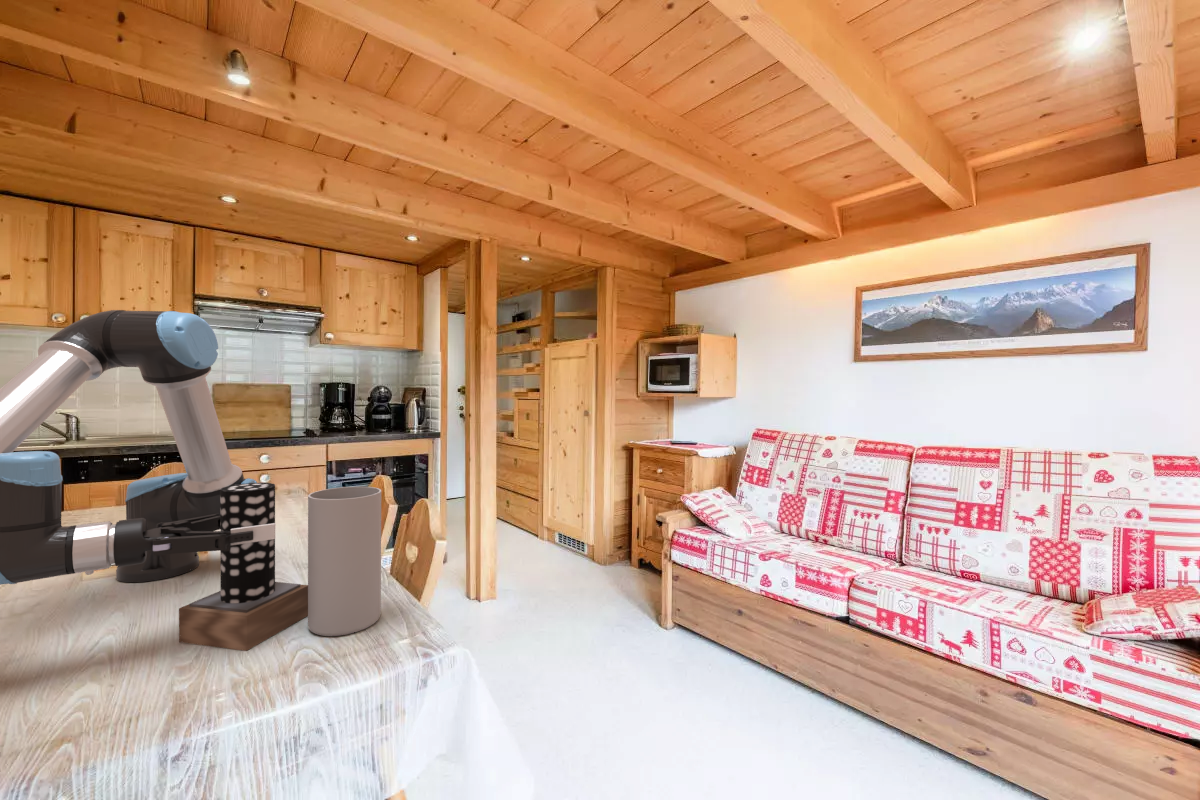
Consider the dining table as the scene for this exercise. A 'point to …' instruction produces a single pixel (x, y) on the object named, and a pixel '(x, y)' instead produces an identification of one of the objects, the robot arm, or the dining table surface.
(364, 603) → the cylinder vase
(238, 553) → the spotted tube
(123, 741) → the dining table surface
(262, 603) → the display pedestal
